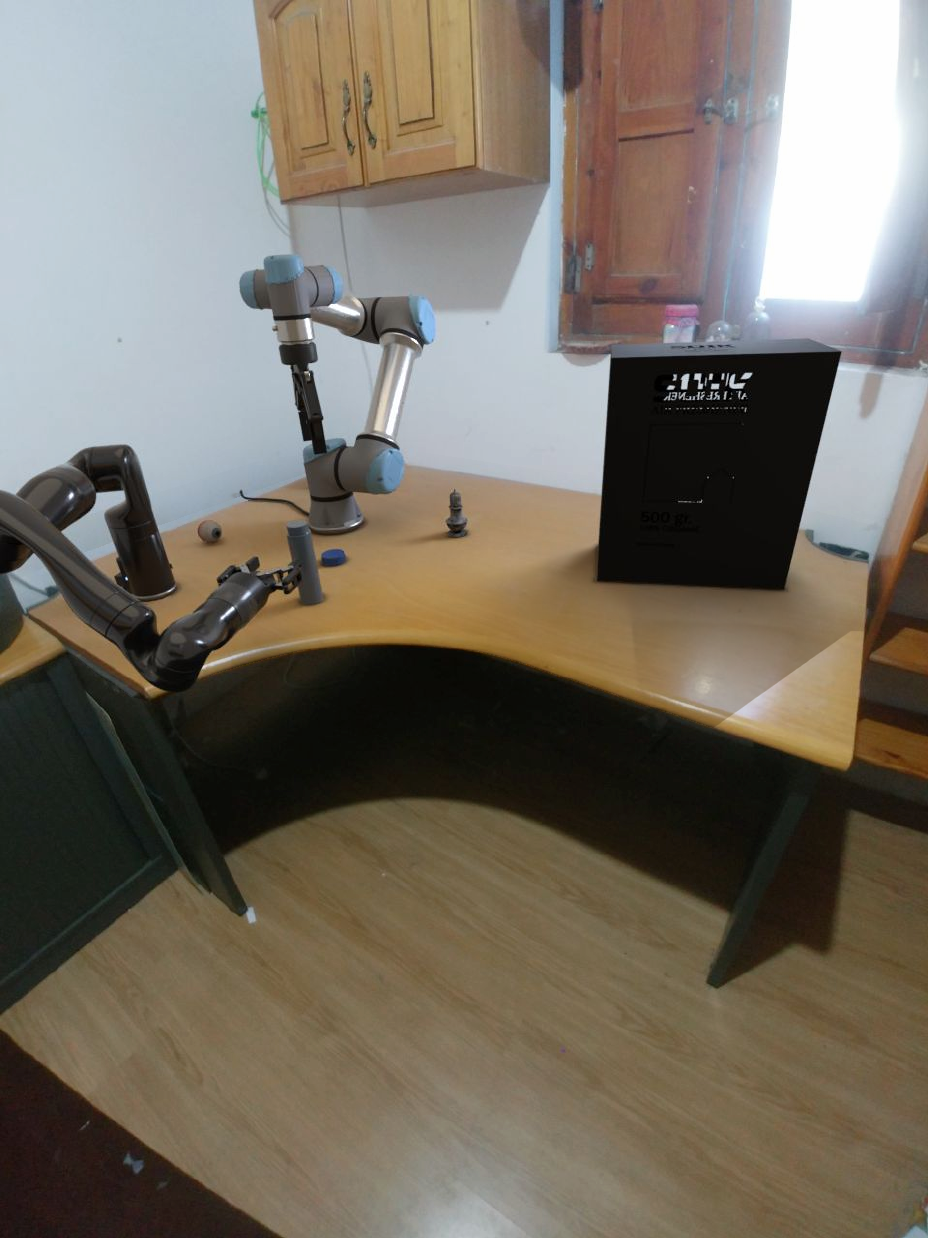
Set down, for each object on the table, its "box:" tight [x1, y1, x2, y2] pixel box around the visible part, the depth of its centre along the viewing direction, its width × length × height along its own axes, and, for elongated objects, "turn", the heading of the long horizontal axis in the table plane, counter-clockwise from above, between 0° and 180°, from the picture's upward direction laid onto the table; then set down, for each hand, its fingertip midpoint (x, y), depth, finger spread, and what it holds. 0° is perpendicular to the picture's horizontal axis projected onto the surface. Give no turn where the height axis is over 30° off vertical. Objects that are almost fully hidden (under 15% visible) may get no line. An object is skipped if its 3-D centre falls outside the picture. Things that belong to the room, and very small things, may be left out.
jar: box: [285, 519, 324, 606], centre depth 127 cm, size 5×5×17 cm
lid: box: [320, 548, 347, 567], centre depth 147 cm, size 6×6×2 cm
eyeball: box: [197, 519, 223, 544], centre depth 161 cm, size 6×6×6 cm
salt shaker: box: [444, 488, 469, 538], centre depth 156 cm, size 6×6×12 cm
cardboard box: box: [596, 337, 842, 591], centre depth 125 cm, size 38×20×45 cm, turn 78°
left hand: (278, 561), depth 115 cm, fingers open, 8 cm apart
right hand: (314, 446), depth 134 cm, fingers open, 13 cm apart
